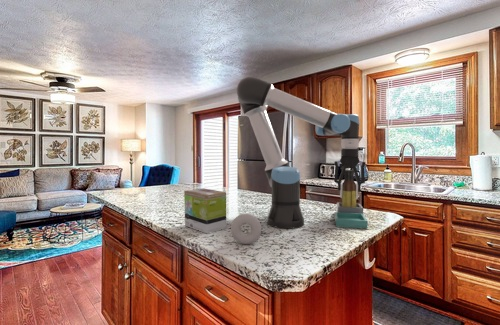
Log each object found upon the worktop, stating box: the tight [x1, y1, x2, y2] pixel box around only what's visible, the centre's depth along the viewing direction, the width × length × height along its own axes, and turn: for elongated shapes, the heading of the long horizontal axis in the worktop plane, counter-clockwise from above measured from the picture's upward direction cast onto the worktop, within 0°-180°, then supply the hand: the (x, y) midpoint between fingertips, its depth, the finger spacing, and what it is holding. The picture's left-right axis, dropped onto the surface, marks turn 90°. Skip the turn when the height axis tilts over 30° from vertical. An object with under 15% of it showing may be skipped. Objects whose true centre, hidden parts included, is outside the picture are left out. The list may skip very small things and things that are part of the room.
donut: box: [230, 213, 263, 245], centre depth 85 cm, size 10×4×10 cm, turn 85°
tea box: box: [183, 187, 227, 234], centre depth 104 cm, size 15×10×15 cm, turn 47°
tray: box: [334, 211, 369, 230], centre depth 110 cm, size 12×13×3 cm
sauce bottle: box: [341, 169, 357, 207], centre depth 122 cm, size 6×6×20 cm
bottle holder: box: [336, 202, 364, 215], centre depth 123 cm, size 11×11×5 cm
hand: (348, 197), depth 123 cm, fingers closed on sauce bottle, 6 cm apart
